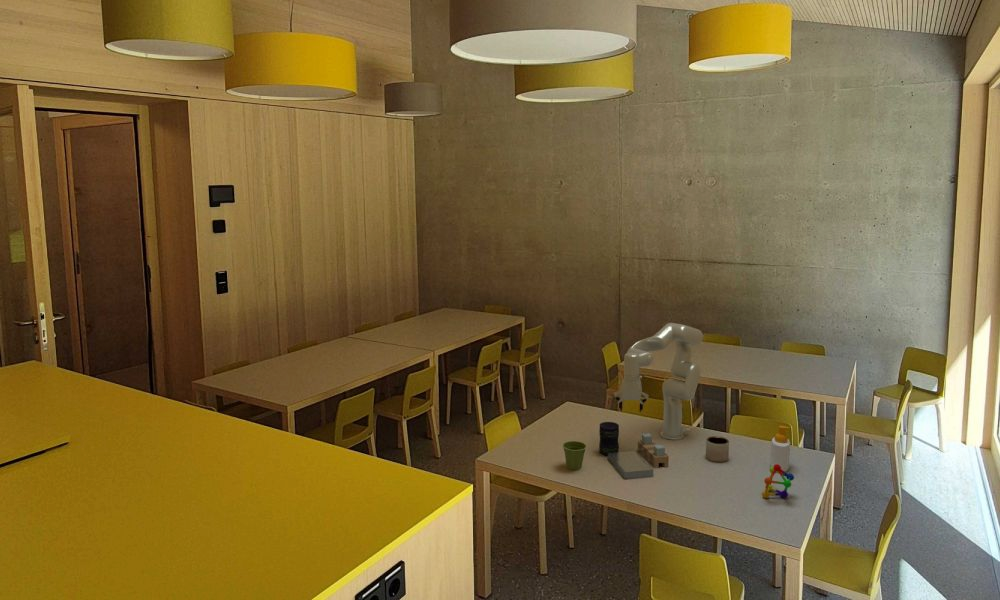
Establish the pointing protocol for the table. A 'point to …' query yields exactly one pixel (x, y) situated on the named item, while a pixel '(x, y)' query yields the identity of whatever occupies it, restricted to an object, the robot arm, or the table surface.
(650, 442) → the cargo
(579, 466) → the plant pot
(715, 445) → the planter
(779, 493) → the educational toy
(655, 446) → the block
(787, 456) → the soap bottle
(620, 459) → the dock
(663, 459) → the wooden block carrier
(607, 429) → the storage jar
